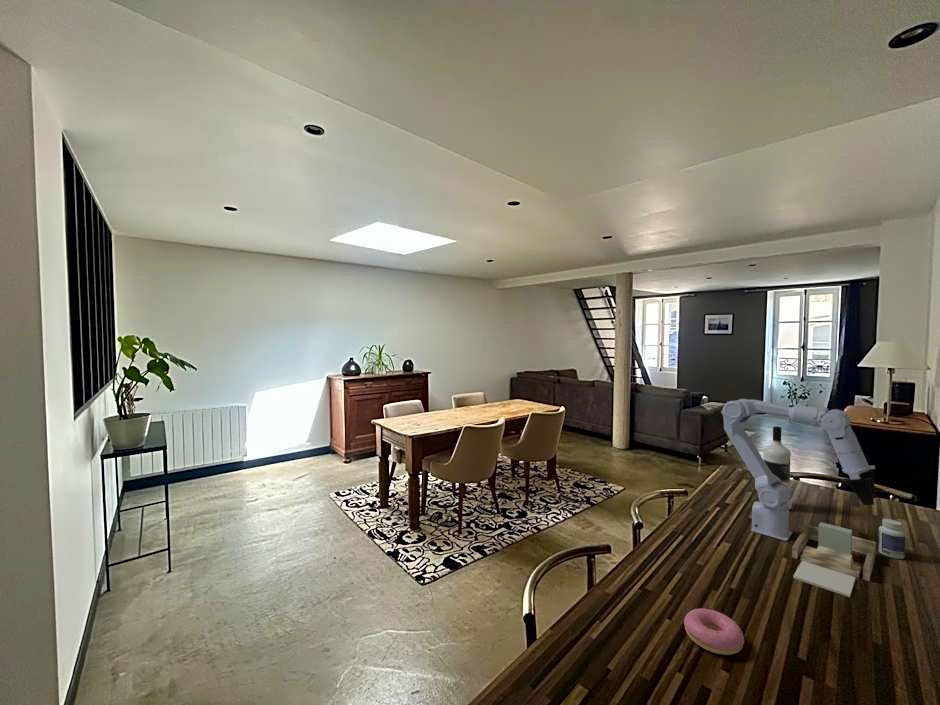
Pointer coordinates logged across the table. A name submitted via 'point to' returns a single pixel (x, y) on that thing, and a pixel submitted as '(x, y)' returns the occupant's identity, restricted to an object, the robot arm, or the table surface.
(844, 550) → the green panel
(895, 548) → the pill bottle
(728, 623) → the doughnut
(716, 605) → the table surface
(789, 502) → the vodka
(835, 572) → the grey pad
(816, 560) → the rack
